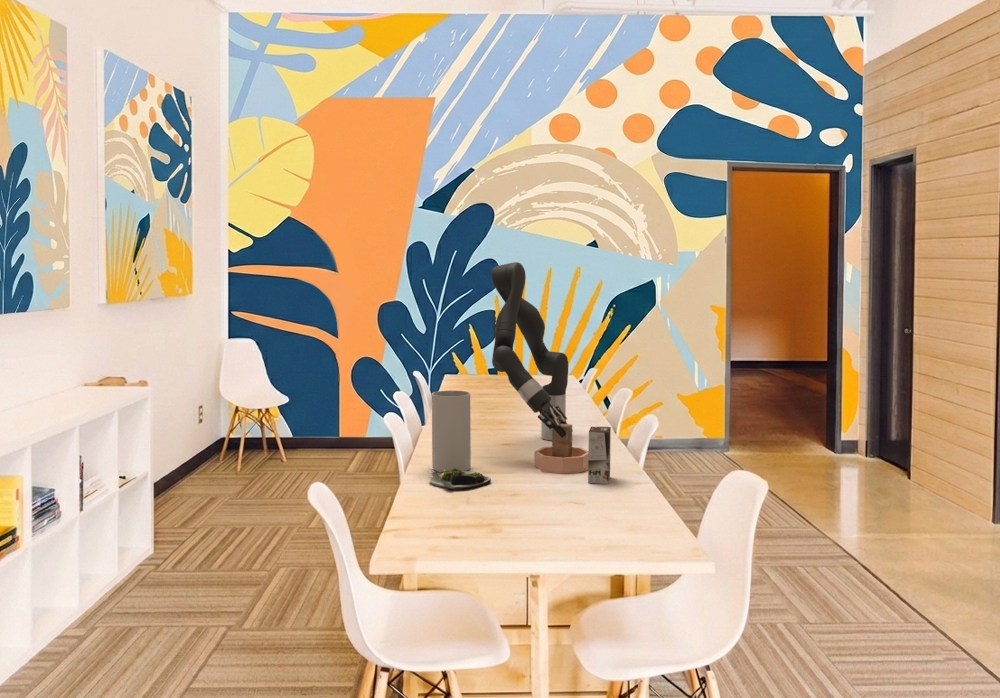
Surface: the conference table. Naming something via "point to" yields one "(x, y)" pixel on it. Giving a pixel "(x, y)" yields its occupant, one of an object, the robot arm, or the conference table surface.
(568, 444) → the walnut block
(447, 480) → the salad plate
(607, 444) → the coffee box
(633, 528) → the conference table surface
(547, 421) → the robot arm
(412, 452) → the conference table surface
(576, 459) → the bowl
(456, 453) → the cylinder vase
